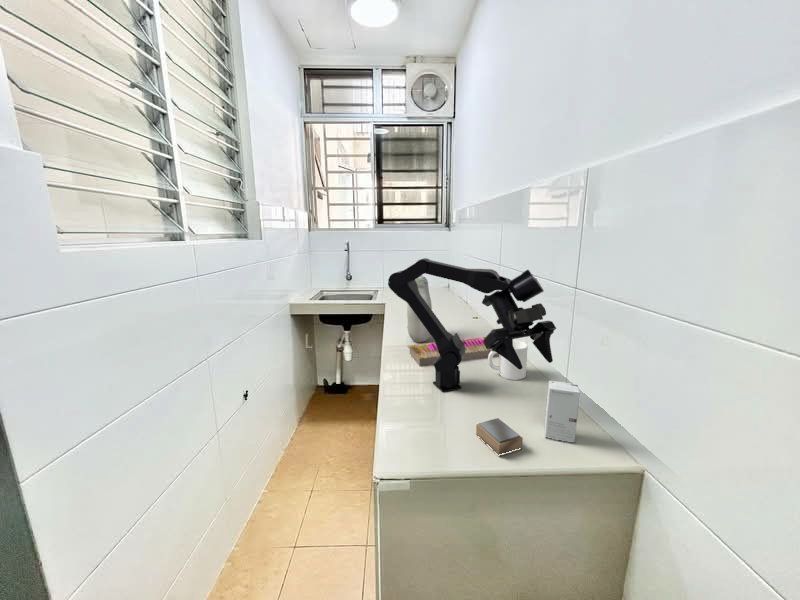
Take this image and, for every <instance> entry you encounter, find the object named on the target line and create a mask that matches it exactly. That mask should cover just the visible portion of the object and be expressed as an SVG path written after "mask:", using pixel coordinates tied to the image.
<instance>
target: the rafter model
mask: <svg viewBox="0 0 800 600" xmlns="http://www.w3.org/2000/svg"><path fill="white" fill-rule="evenodd" d="M485 337H486V336H481V337H471V338H463V339H462V338H460V339H461V340H462V341H463V342H464V343H465V344H464V346H465V349H466V351H465V355H464V357H463V359H462V361H461V362H464V361H471V360H472V361H473V360H479V359H481V360H482V359H488V355H489V353H490V352H491V351H492V349H488V350H487V349H486V347H485V345H484V338H485ZM406 347H407V348H408V349H409V355H410V354H411V355H410V356H411V358H412V359H413V358H414V359H413V360H414V361H415V362H416V364H417V366H419V367H425V366H434V364H435V362H436V361H437V360H438V358H439V357H440V355H439V353H438V349H437V346H436V342H435V341H434V342H426V343H417V344H409V345H406ZM434 355H435V356H434ZM496 357H499V354H498V353H496V354H494V355H493V357H492V358H496Z"/></svg>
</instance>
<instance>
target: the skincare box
mask: <svg viewBox="0 0 800 600" xmlns="http://www.w3.org/2000/svg"><path fill="white" fill-rule="evenodd" d="M546 396H547V397H546V410H545V418H544V438H545V437H548V438H547V439H549V438H552V439H551V440H554V439H557V440H556V441H558V440H563V441H569V442H574V443H575V439H576V430H577V423H578V415H579V414H578V413H579V404H580V398H581V392H580V388H579V385H578V384H575V383H569V382H564V381H556V380H555V381H554V380H548V387H547V395H546ZM563 441H562V442H563Z"/></svg>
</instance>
